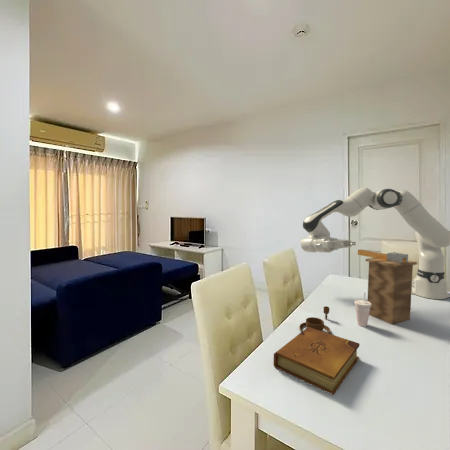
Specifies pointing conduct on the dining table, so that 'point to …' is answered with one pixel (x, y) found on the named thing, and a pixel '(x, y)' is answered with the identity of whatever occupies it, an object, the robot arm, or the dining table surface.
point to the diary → (318, 358)
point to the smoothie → (362, 311)
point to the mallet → (386, 256)
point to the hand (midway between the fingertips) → (349, 243)
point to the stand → (390, 290)
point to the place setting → (316, 322)
